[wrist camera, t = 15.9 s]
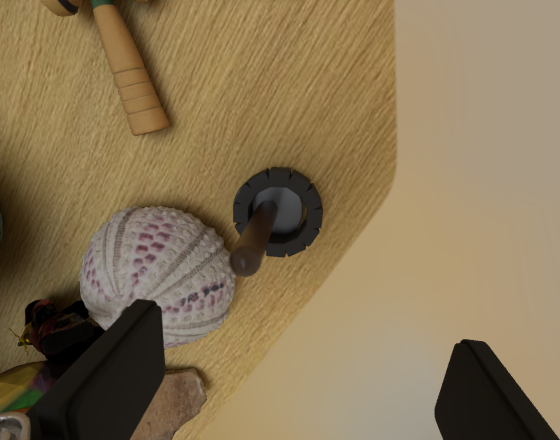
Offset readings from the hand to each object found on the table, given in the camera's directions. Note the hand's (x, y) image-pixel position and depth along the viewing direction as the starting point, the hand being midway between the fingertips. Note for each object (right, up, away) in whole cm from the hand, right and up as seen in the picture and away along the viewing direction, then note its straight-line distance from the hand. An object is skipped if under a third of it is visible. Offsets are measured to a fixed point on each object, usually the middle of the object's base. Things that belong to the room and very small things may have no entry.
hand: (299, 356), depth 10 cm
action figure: (-12, -5, +11) cm, 17 cm away
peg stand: (-2, +5, +18) cm, 19 cm away
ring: (-1, +5, +16) cm, 17 cm away
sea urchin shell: (-11, 0, +20) cm, 23 cm away
